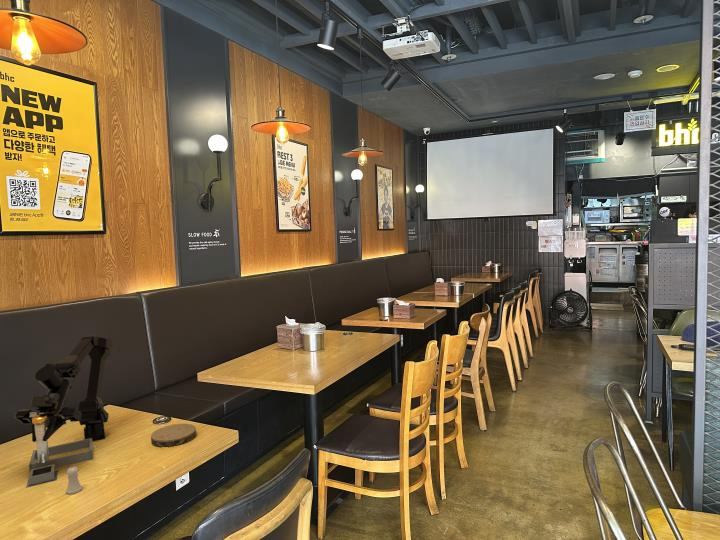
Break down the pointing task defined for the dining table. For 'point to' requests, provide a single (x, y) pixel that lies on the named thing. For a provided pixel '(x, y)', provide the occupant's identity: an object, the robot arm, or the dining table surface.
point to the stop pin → (41, 437)
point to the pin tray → (65, 459)
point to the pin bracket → (42, 475)
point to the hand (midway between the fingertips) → (38, 441)
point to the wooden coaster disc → (173, 435)
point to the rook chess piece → (73, 481)
